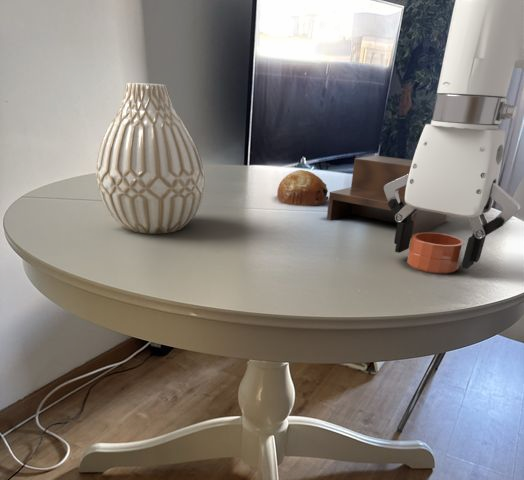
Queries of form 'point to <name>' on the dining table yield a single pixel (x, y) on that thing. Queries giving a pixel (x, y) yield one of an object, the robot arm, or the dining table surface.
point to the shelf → (377, 193)
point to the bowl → (435, 252)
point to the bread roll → (302, 189)
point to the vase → (149, 164)
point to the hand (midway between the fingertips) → (433, 257)
